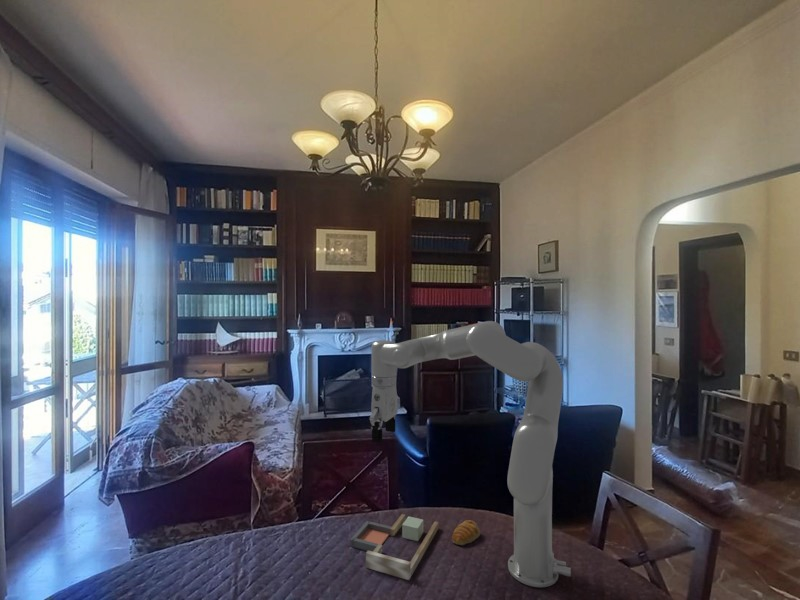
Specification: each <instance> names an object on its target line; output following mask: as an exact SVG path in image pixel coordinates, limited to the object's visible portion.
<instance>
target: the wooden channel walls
mask: <svg viewBox="0 0 800 600" xmlns="http://www.w3.org/2000/svg"><path fill="white" fill-rule="evenodd" d="M405 520H406V514H404V513H401V515H400V516H399V517H398V518H397V520H396V521H395V522H394V523H393V524H392V526H391V529H390V535H389V536H391V537H395V536H396V534H397V533H398V532H399V530H400V529H401V528H402V524H403V523H404V522H405ZM439 527H440V526H439V521H434V522H433V524H432V525H431V527H430V528H429V530H428V532H427V533H426V535H425V537H424V538H423V541H422V542H421V544H420V545H419V546H418V548H417V550H416V551H415V554H414V555H413V557H412V559H411V560H410V561H408V560H405V559H401V558H397V557H395V556H390V555H386V554H383V544H382V545H380V544H378V545H377V547H376V548H375V549H374V551H373V552H372V551H369V550H368V551H366V552H365V568H366V569H370V570H373V571H376V572H380V573H384V574H387V575H389V576H392V577H396V578H400V579H403V580H407V581H410V580H411V577H412V576H413V574H414V572H415V571H416V569H417V568H418V565H419V564H420V562H421V560H422V559H423V557H424V555H425V553H426V552H427V550H428V548H429V546H430V544H431V542H432V540H433V539H434V538H435V536H436V534H437V532H438V531H439Z"/></svg>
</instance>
